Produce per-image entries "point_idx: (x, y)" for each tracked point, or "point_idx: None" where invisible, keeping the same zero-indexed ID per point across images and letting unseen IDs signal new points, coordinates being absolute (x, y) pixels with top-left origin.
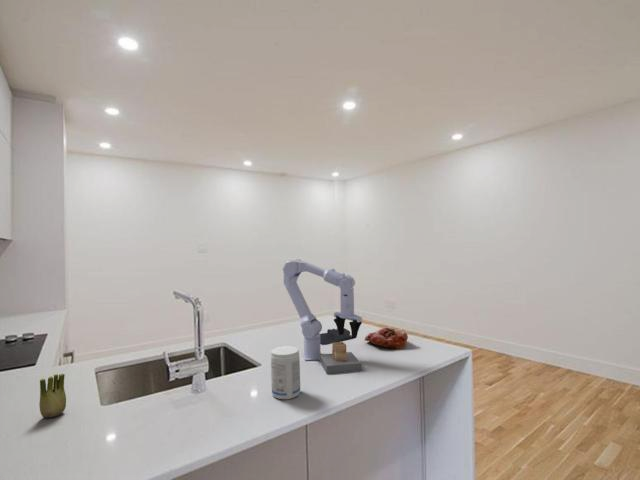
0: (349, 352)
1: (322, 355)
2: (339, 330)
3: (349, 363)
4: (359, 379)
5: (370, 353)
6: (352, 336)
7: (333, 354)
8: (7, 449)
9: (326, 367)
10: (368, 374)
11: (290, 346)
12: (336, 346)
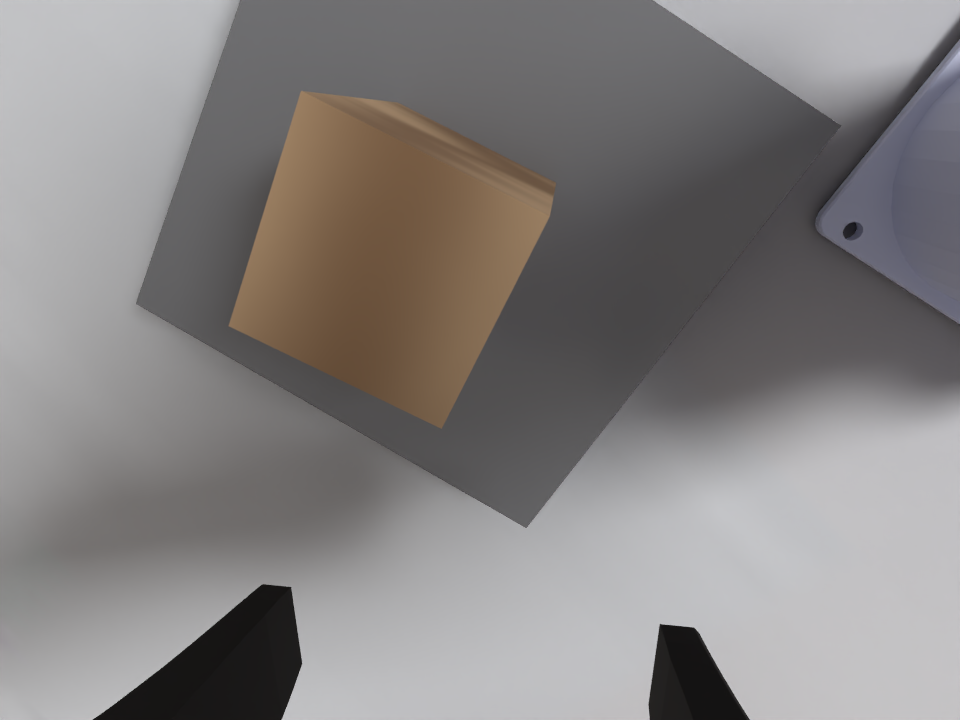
0: (529, 502)
1: (757, 127)
2: (690, 716)
3: (204, 178)
4: (5, 63)
5: (503, 702)
6: (245, 611)
7: (499, 160)
8: None
9: None
10: (76, 252)
11: None
12: (301, 108)
